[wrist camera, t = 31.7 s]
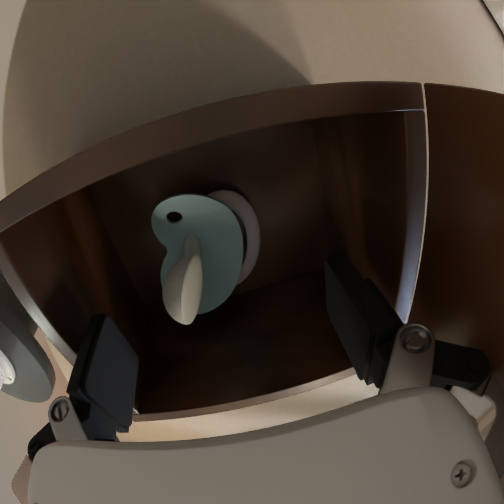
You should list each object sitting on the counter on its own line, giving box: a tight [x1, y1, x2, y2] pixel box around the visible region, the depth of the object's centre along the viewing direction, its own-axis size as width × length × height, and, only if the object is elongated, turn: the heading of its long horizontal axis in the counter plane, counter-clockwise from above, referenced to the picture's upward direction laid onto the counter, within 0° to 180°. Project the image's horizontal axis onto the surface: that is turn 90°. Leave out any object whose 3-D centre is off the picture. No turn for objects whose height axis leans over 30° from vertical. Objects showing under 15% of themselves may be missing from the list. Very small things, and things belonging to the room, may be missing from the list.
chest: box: [0, 81, 427, 422], centre depth 13 cm, size 15×13×9 cm
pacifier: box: [151, 190, 261, 325], centre depth 14 cm, size 7×6×6 cm
